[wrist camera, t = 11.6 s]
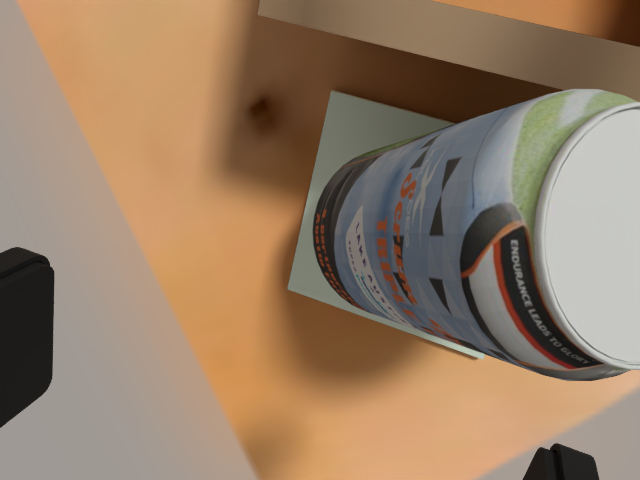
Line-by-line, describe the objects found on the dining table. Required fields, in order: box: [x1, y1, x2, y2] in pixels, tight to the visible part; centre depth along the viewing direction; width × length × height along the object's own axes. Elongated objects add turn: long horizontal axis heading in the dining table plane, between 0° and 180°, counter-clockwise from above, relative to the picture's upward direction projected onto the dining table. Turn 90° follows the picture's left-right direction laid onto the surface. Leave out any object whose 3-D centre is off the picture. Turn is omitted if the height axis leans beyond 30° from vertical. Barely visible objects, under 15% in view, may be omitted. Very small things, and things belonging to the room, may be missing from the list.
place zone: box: [287, 90, 485, 359], centre depth 23 cm, size 9×9×1 cm
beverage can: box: [313, 89, 640, 381], centre depth 15 cm, size 6×7×12 cm
